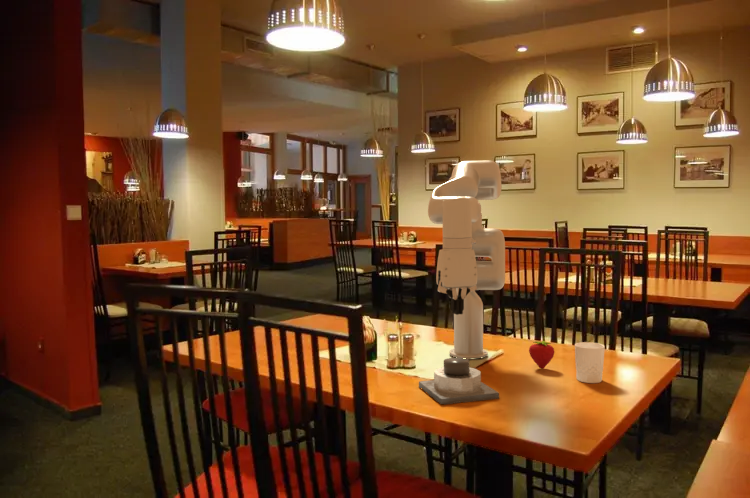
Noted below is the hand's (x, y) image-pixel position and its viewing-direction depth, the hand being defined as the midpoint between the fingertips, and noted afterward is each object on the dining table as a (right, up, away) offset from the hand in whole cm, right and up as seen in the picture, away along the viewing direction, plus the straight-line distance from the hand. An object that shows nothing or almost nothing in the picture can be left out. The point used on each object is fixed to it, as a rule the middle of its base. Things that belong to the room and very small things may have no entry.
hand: (457, 313), depth 157 cm
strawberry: (+29, -20, +24) cm, 42 cm away
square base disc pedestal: (0, -21, +1) cm, 21 cm away
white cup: (+39, -20, +11) cm, 45 cm away
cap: (0, -20, +1) cm, 20 cm away
